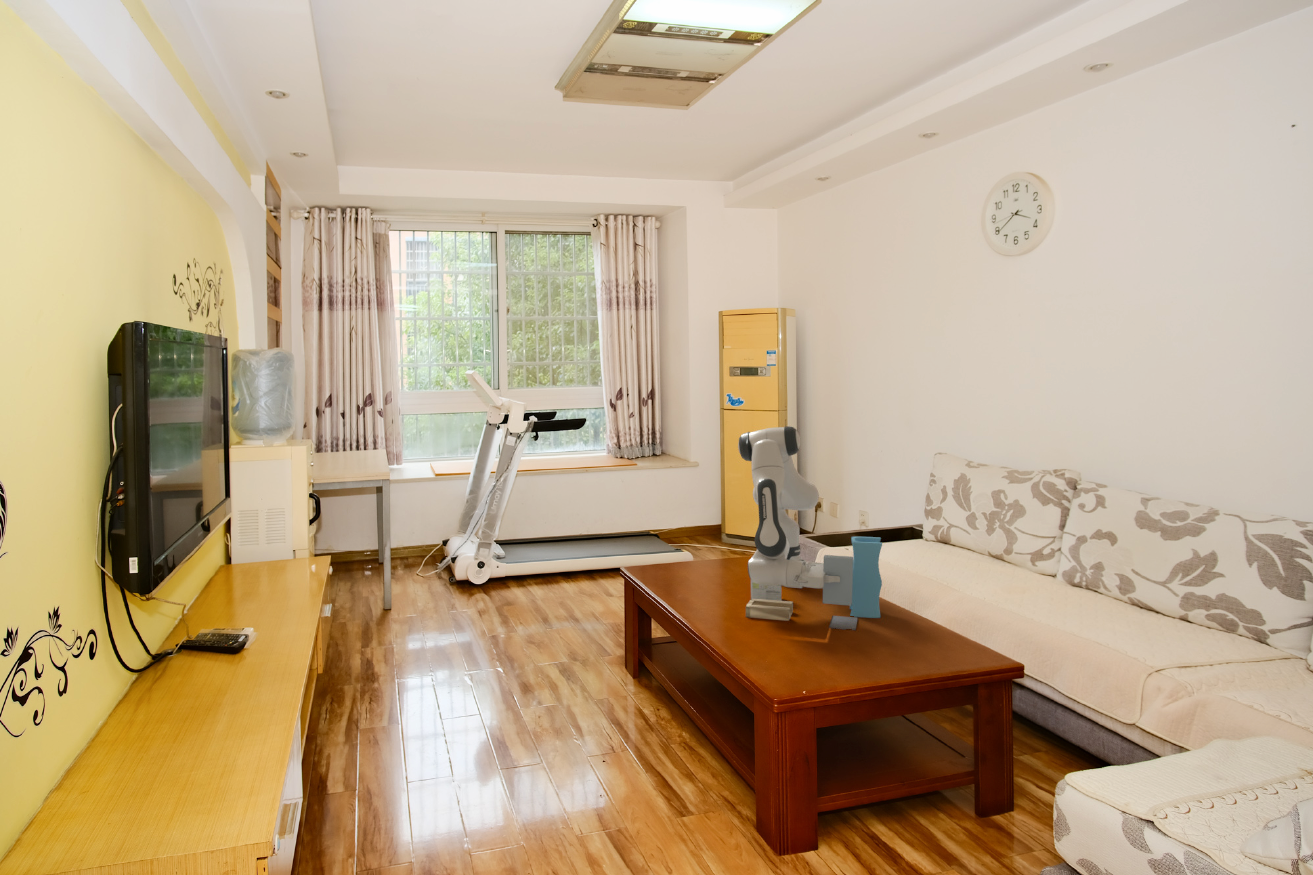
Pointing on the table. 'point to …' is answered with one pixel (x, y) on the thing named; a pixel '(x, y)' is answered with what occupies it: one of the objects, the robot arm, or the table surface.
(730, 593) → the table surface
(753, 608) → the birch box
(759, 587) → the light bulb box
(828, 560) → the cover plate
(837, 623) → the felt pad
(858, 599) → the vase
